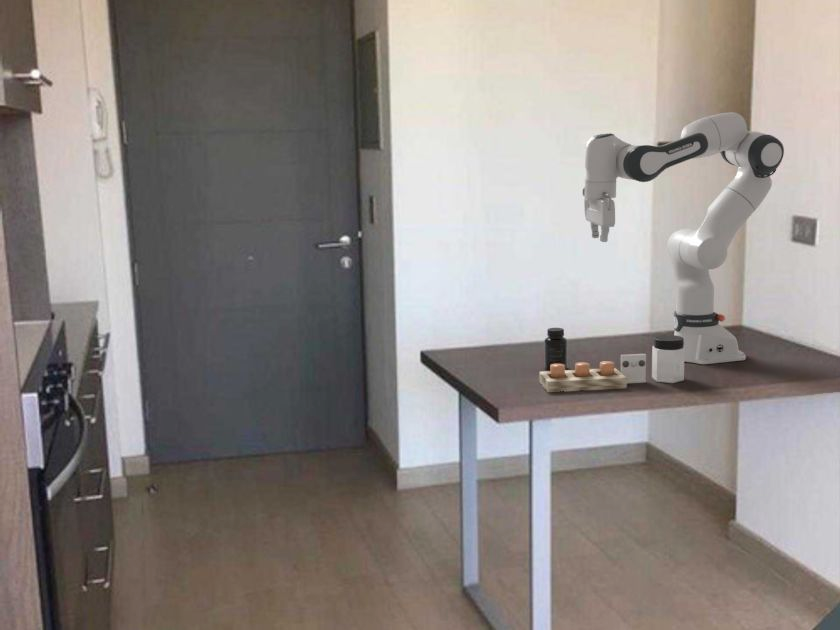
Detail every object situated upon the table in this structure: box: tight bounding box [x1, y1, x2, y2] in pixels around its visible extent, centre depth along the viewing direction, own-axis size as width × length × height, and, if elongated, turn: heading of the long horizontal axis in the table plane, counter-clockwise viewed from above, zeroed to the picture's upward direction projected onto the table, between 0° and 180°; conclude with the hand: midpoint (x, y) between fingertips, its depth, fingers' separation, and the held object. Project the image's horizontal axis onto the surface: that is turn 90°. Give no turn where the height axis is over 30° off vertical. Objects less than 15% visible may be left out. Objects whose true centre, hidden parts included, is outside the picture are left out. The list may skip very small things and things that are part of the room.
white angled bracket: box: [620, 353, 647, 384], centre depth 277 cm, size 7×3×8 cm, turn 95°
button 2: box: [599, 360, 615, 375], centre depth 276 cm, size 4×4×3 cm
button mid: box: [574, 361, 591, 376], centre depth 275 cm, size 4×4×3 cm
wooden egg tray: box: [538, 367, 628, 393], centre depth 276 cm, size 22×11×3 cm, turn 95°
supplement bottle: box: [543, 327, 568, 371], centre depth 293 cm, size 7×7×12 cm
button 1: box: [549, 364, 566, 378], centre depth 274 cm, size 4×4×3 cm
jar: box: [651, 334, 685, 384], centre depth 278 cm, size 9×8×12 cm
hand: (599, 239), depth 285 cm, fingers open, 8 cm apart
